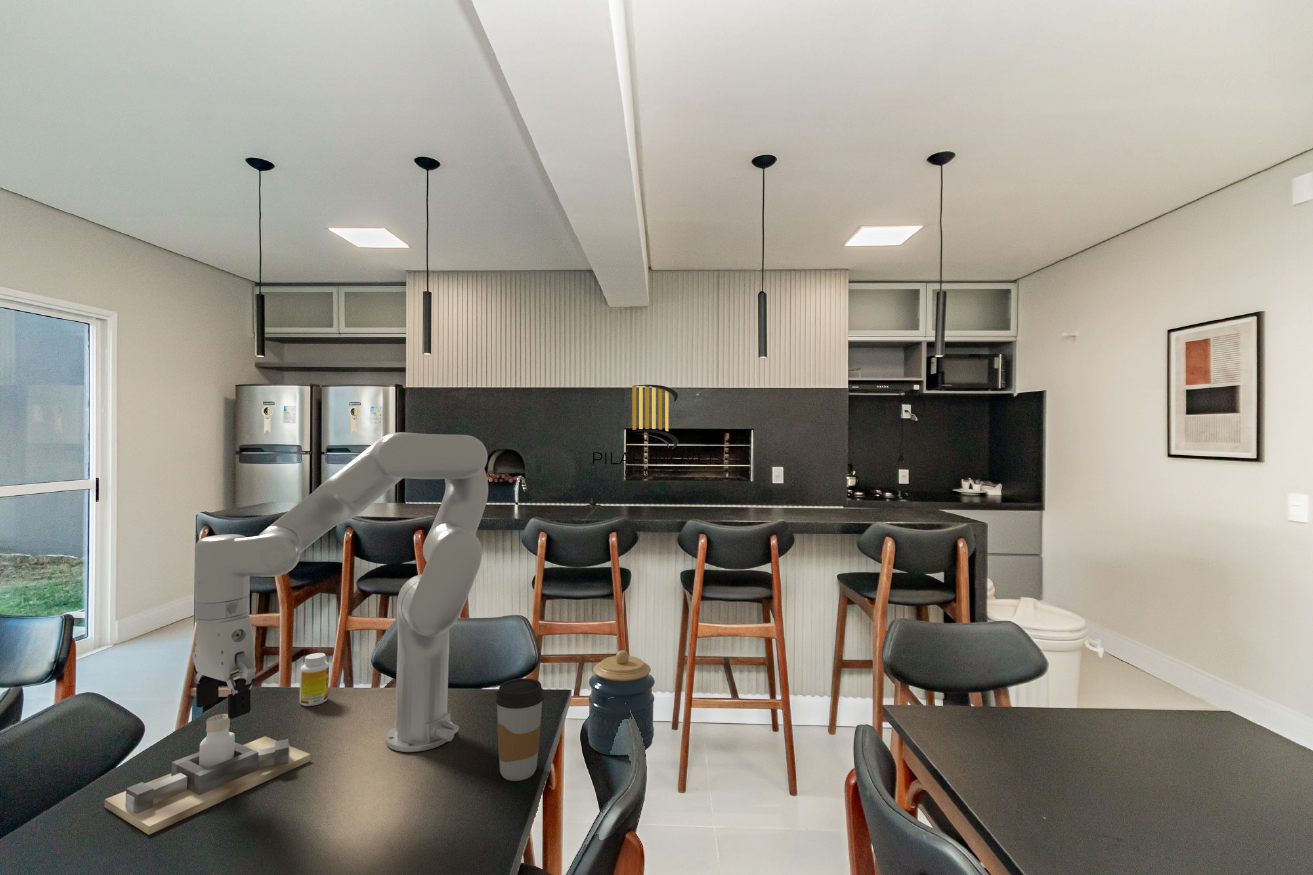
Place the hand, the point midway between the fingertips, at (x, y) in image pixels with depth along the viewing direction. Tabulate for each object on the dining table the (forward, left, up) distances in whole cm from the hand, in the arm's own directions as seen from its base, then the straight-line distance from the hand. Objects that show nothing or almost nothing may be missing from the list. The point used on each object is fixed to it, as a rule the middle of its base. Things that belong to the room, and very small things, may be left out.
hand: (223, 709), depth 101 cm
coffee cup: (-42, -27, -12) cm, 51 cm away
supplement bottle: (+17, -27, -12) cm, 35 cm away
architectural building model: (0, +1, -12) cm, 12 cm away
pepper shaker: (0, +1, -11) cm, 11 cm away
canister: (-52, -45, -12) cm, 70 cm away
